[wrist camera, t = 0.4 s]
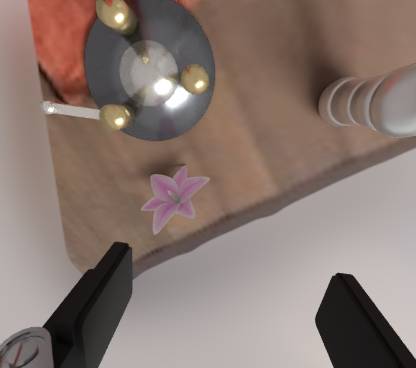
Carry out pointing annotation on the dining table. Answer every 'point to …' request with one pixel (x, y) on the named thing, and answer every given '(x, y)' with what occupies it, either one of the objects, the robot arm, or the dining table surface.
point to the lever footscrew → (94, 113)
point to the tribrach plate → (150, 65)
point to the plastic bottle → (373, 102)
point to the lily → (172, 197)
